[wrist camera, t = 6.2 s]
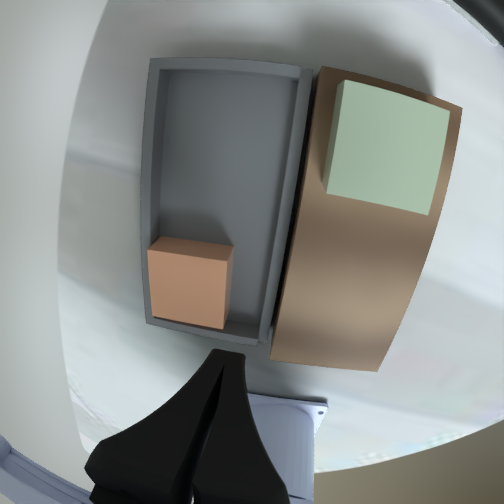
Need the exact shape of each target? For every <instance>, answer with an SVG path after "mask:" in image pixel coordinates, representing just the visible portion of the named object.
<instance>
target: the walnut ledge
mask: <svg viewBox="0 0 504 504" xmlns="http://www.w3.org/2000/svg"><path fill="white" fill-rule="evenodd" d="M344 80H349V81H354V82H358V83H362V84H366V85H370V86H374V87H378V88H381V89H385V90H388V91H392V92H395V93H399V94H402V95H405V96H408V97H411V98H414V99H417V100H420V101H423V102H426V103H429V104H432V105H435V106H437V107H440V108H443V109H445V110H448V111H450V115H449V122H448V128H447V134H446V140H445V145H444V150H443V156H442V160H441V165H440V170H439V174H438V179H437V183H436V187H435V191H434V195H433V199H432V203H431V206H430V210H429V214H428V215H424V214H420V213H416V212H412V211H408V210H403V209H399V208H395V207H390V206H386V205H381V204H376V203H372V202H367V201H362V200H357V199H352V198H347V197H342V196H337V195H332V194H327V193H326V192H325V189H324V187H323V185H322V178H323V173H324V167H325V161H326V156H327V150H328V144H329V138H330V132H331V125H332V119H333V112H334V105H335V99H336V92H337V85H338V84H340V83H341V82H342V81H344ZM461 115H462V108H461V107H459V106H457V105H454V104H452V103H449V102H447V101H444V100H442V99H439V98H436V97H434V96H431V95H428V94H425V93H422V92H419V91H417V90H414V89H411V88H407V87H404V86H401V85H398V84H395V83H391V82H388V81H384V80H381V79H377V78H373V77H370V76H366V75H362V74H357V73H353V72H349V71H344V70H340V69H335V68H330V67H325V66H322V67H321V69H320V71H319V73H318V74H317V79H316V86H315V94H314V101H313V108H312V114H311V121H310V128H309V134H308V141H307V147H306V154H305V160H304V166H303V172H302V178H301V184H300V190H299V196H298V202H297V207H296V213H295V219H294V224H293V230H292V235H291V241H290V246H289V252H288V257H287V262H286V267H285V272H284V278H283V283H282V288H281V293H280V298H279V303H278V308H277V313H276V317H275V322H274V327H273V334H272V342H271V351H270V359H269V360H276V361H282V362H289V363H296V364H304V365H312V366H320V367H329V368H339V369H349V370H361V371H374V372H377V371H378V369H379V367H380V365H381V363H382V361H383V359H384V357H385V355H386V353H387V351H388V349H389V347H390V345H391V343H392V341H393V339H394V337H395V334H396V332H397V330H398V328H399V326H400V323H401V321H402V319H403V317H404V314H405V312H406V310H407V307H408V305H409V303H410V300H411V298H412V295H413V293H414V290H415V288H416V285H417V282H418V280H419V277H420V275H421V272H422V269H423V266H424V264H425V261H426V258H427V255H428V252H429V249H430V246H431V243H432V240H433V237H434V234H435V230H436V227H437V224H438V221H439V217H440V214H441V210H442V206H443V203H444V199H445V195H446V191H447V187H448V183H449V179H450V175H451V170H452V166H453V161H454V156H455V151H456V146H457V140H458V134H459V128H460V122H461Z"/></svg>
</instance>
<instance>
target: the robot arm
mask: <svg viewBox="0 0 504 504" xmlns="http://www.w3.org/2000/svg"><path fill="white" fill-rule="evenodd" d="M245 358H246V356H245V355H244V354H241V353H236V352H230V351H225V350H220V349H213V350H212V351H211V352H210V354H209V356H208V357H207V358H206V360H205V361H204V363H203V364H202V365H201V367H200V368H199V369H198V370H197V371H196V373H195V374H194V375H193V376H192V377H191V378H190V380H189V381H188V382H187V383H186V384H185V385H184V386H183V387H182V388H181V389H180V390H179V391H178V392H177V393H176V394H175V395H174V396H173V397H172V398H170V399H169V400H168V401H167V402H166V403H165V404H163V405H162V406H161V407H160V408H158V409H157V410H156V411H154V412H153V413H151V414H150V415H149V416H147V417H146V418H144V419H143V420H141V421H139V422H138V423H136V424H134V425H132V426H131V427H129V428H127V429H125V430H124V431H122V432H120V433H117V434H115V435H113V436H111V437H108V438H106V439H104V440H102V441H100V442H99V444H98V445H97V446H96V447H95V449H94V450H93V451H92V453H91V455H90V457H89V459H88V461H87V463H86V465H85V467H84V469H85V471H86V473H87V474H88V476H89V477H90V478H91V479H92V481H93V482H94V483H95V486H94V488H93V491H92V492H89V491H87V490H85V489H83V488H81V487H78V486H76V485H74V484H73V483H71V482H69V481H67V480H65V479H63V478H61V477H59V476H57V475H56V474H54V473H52V472H50V471H49V470H47V469H45V468H43V467H42V466H40V465H38V464H37V463H35V462H33V461H32V460H30V459H29V458H27V457H26V456H24V455H23V454H21V453H20V452H18V451H17V450H15V449H14V448H12V446H11V445H10V443H9V442H8V441H7V440H6V439H5V438H4V437H2V436H1V435H0V492H1V493H2V494H4V495H5V496H6V497H7V498H9V499H10V500H12V501H13V502H14V503H16V504H191V502H192V497H194V503H193V504H314V500H313V482H314V435H315V433H316V432H317V430H318V428H319V426H320V424H321V422H322V420H323V418H324V417H325V415H326V413H327V411H328V404H326V403H319V402H309V401H300V400H291V399H283V398H276V397H269V396H263V395H256V394H250V393H247V388H246V381H245Z"/></svg>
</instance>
